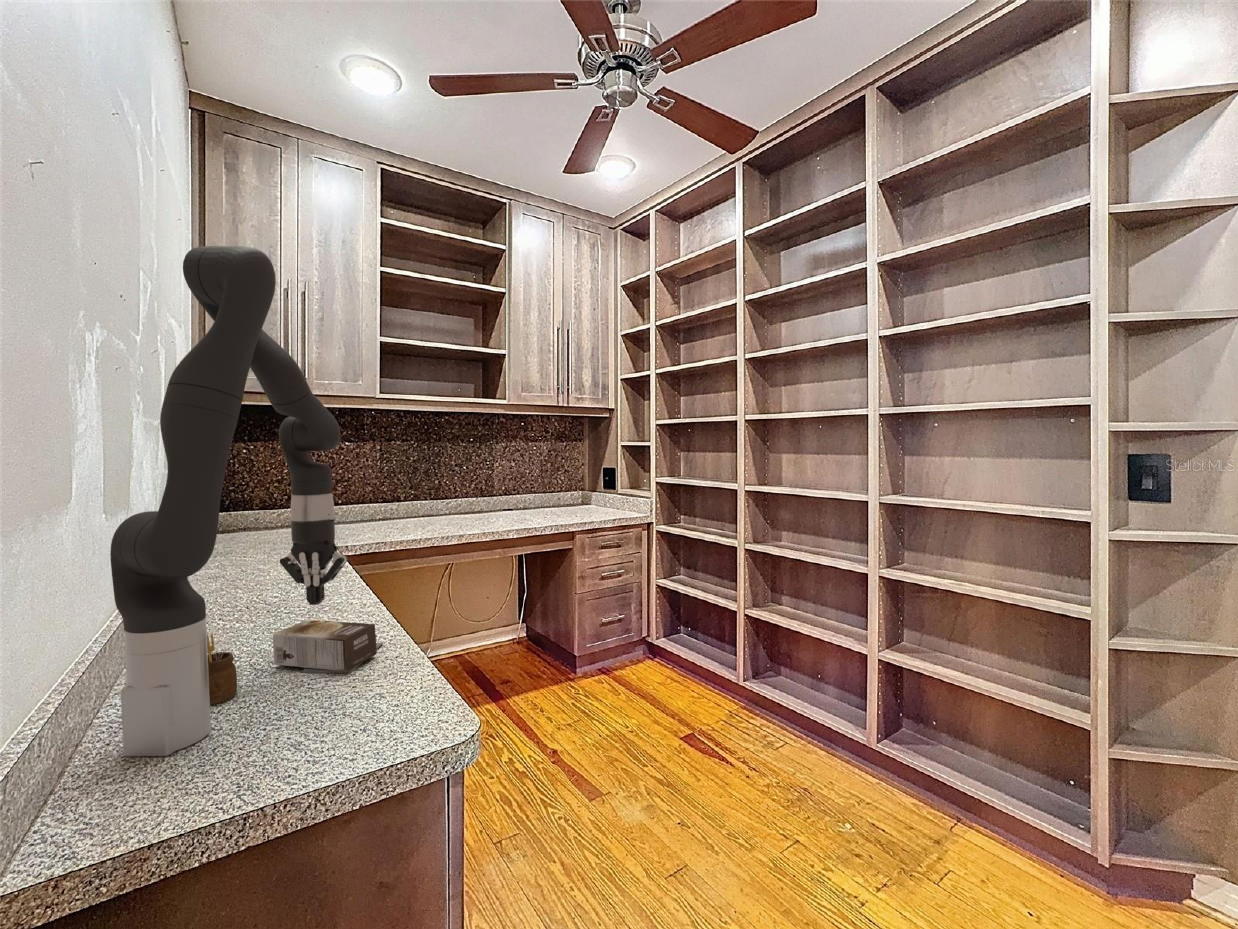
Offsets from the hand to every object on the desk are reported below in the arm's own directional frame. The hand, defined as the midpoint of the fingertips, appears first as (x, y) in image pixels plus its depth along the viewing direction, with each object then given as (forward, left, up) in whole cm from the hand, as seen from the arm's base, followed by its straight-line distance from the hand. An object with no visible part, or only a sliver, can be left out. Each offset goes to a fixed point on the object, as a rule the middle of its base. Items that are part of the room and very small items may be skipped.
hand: (315, 603), depth 111 cm
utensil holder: (-17, +8, -11) cm, 22 cm away
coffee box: (0, +5, -7) cm, 9 cm away
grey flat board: (0, -6, -11) cm, 12 cm away
